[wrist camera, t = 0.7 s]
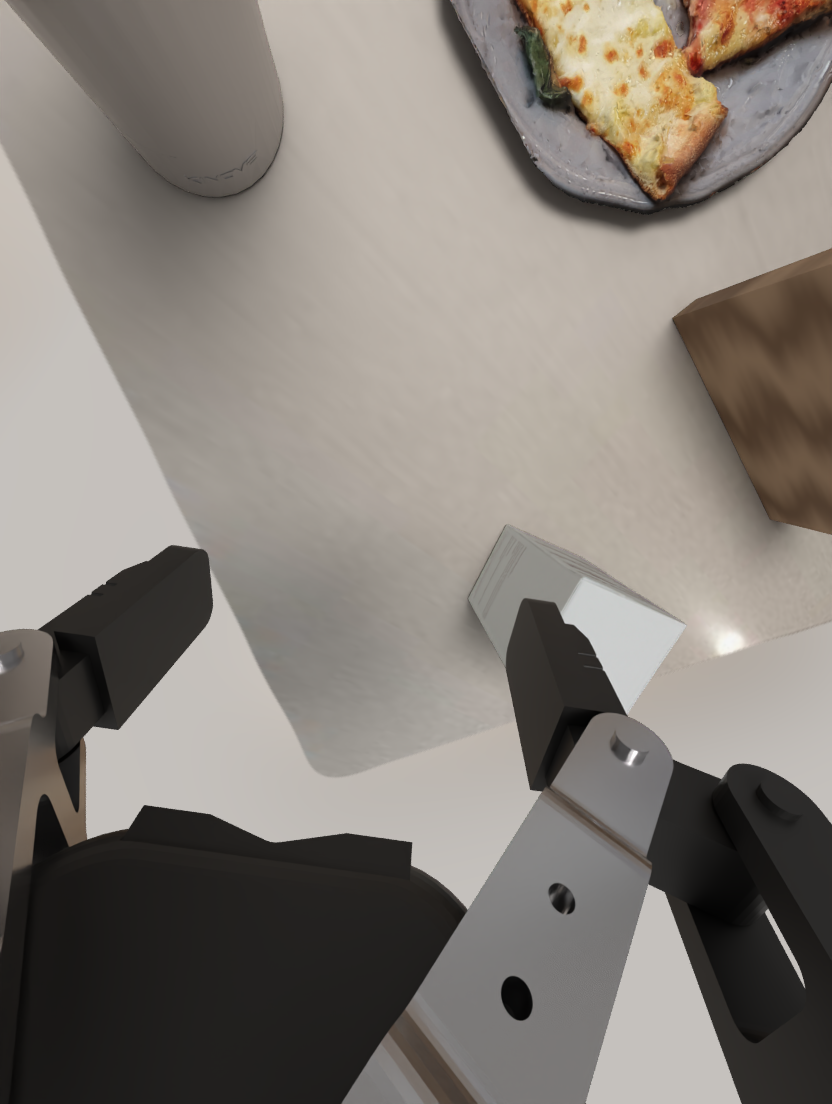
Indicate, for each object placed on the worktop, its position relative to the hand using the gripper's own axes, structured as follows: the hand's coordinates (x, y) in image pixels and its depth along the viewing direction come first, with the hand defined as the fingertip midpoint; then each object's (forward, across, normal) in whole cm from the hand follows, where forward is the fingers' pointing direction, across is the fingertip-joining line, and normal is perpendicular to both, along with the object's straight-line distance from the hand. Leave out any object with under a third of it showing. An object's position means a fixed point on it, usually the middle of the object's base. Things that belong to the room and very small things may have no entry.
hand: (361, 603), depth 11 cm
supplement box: (+22, -11, +10) cm, 26 cm away
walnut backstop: (+26, -25, -4) cm, 36 cm away
